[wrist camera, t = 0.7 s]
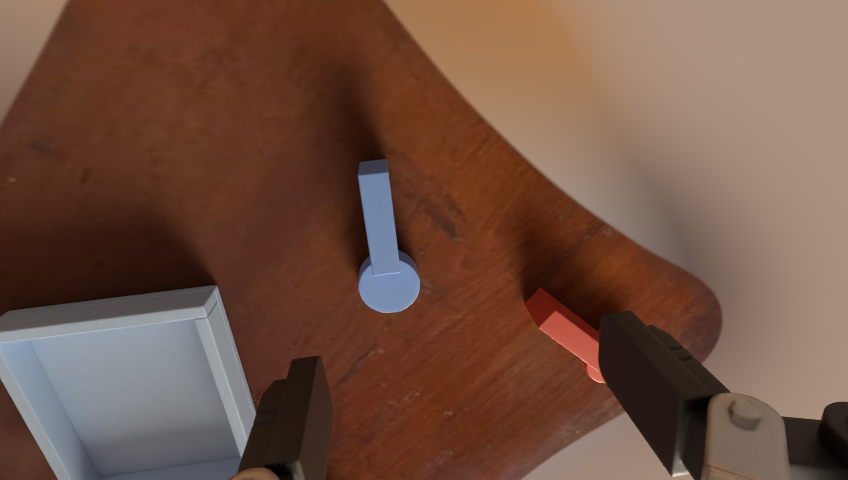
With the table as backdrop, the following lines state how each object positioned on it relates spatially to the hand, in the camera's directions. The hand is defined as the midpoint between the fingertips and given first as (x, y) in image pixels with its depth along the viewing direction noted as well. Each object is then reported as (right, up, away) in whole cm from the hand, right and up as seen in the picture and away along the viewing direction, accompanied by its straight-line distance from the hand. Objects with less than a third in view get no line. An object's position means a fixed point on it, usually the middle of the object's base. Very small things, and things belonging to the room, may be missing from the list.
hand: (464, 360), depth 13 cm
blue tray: (-20, -7, +18) cm, 28 cm away
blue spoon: (-4, +3, +16) cm, 16 cm away
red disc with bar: (+10, -3, +20) cm, 22 cm away
